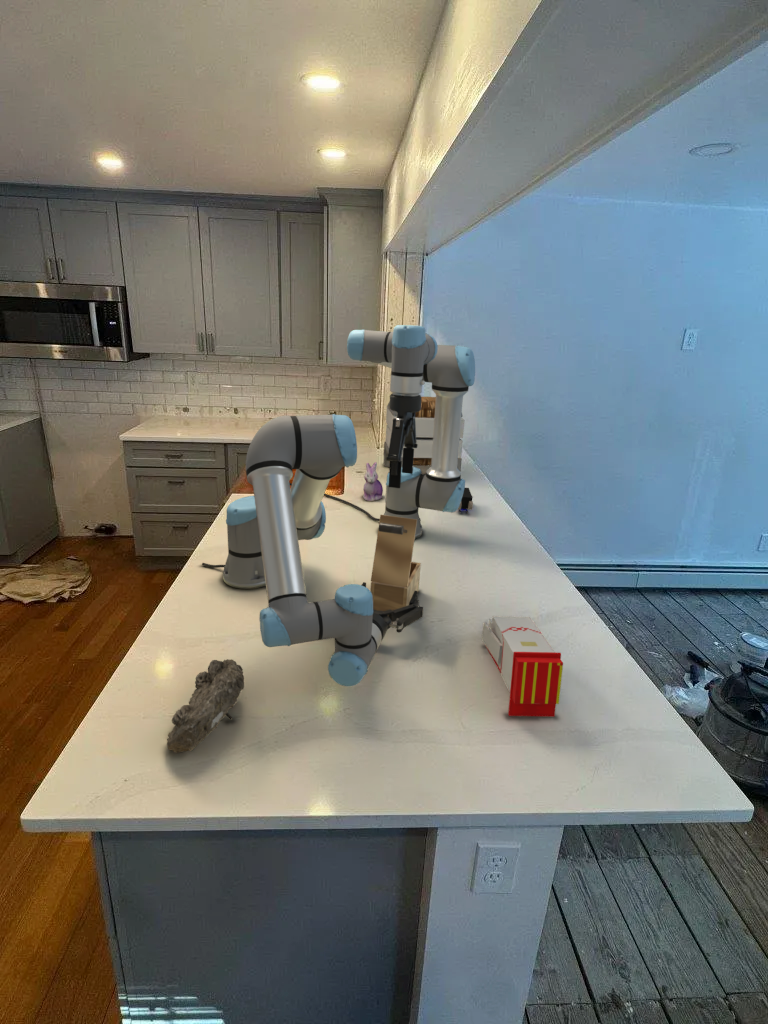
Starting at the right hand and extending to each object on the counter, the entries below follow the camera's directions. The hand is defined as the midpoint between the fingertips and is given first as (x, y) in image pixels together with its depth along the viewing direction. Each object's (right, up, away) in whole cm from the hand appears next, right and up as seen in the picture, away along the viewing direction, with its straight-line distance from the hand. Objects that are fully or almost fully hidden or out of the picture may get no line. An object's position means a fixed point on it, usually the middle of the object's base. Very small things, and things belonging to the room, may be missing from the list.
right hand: (401, 479), depth 141 cm
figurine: (-9, -2, +95) cm, 95 cm away
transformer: (+13, +11, +134) cm, 135 cm away
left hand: (-3, -28, +4) cm, 29 cm away
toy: (+24, -44, -17) cm, 53 cm away
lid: (-2, -18, +3) cm, 18 cm away
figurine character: (+27, -7, +86) cm, 90 cm away
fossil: (-37, -47, -33) cm, 69 cm away
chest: (-1, -32, +12) cm, 35 cm away
